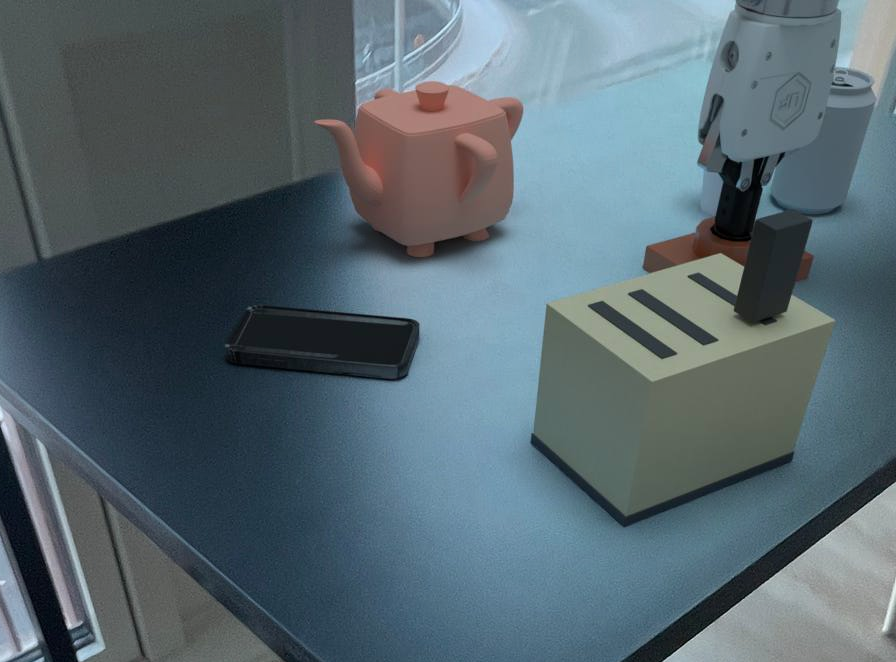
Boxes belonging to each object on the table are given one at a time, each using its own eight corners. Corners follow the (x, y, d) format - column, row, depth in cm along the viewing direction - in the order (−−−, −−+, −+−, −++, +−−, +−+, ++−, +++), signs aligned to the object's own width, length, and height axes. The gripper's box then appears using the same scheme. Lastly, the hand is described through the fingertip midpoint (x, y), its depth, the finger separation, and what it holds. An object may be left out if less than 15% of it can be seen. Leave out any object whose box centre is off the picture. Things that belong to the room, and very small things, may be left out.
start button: (732, 236, 93) (736, 217, 91) (759, 251, 91) (764, 232, 89) (701, 244, 92) (705, 225, 90) (728, 260, 89) (733, 241, 88)
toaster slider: (767, 300, 66) (792, 208, 62) (787, 312, 65) (813, 219, 61) (732, 311, 65) (755, 218, 61) (751, 323, 64) (776, 230, 59)
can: (764, 212, 102) (797, 83, 94) (771, 183, 107) (802, 58, 98) (841, 222, 101) (882, 91, 92) (844, 193, 105) (882, 66, 97)
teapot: (517, 204, 103) (528, 62, 94) (499, 275, 92) (509, 122, 83) (358, 193, 105) (353, 53, 96) (322, 260, 94) (312, 109, 85)
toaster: (690, 387, 79) (721, 250, 71) (792, 461, 73) (838, 318, 65) (530, 442, 74) (544, 301, 66) (623, 527, 67) (652, 381, 59)
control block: (740, 240, 98) (750, 199, 95) (807, 278, 92) (820, 236, 89) (642, 268, 93) (649, 226, 91) (706, 310, 88) (716, 266, 85)
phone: (249, 303, 86) (421, 319, 84) (250, 315, 87) (421, 331, 85) (220, 350, 81) (404, 368, 79) (222, 363, 81) (404, 381, 80)
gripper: (749, 16, 72) (695, 264, 85) (896, -10, 77) (824, 227, 90) (680, -9, 76) (639, 230, 89) (824, -33, 81) (765, 197, 95)
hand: (732, 228), depth 90 cm, fingers closed
